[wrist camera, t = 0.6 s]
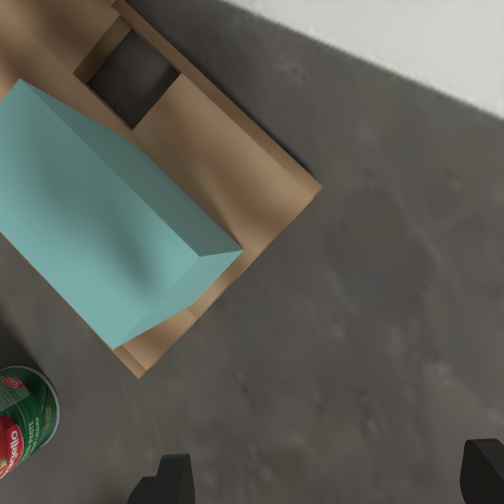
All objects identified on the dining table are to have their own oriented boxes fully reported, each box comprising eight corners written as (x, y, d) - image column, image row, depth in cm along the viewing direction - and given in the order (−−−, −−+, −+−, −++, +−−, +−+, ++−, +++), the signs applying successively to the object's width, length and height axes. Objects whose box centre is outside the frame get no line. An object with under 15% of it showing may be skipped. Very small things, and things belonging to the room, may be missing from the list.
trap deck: (36, -78, 32) (-14, -136, 27) (321, 190, 29) (325, 179, 24) (-103, 107, 34) (-171, 85, 29) (148, 370, 32) (119, 394, 27)
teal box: (136, 144, 29) (19, 78, 17) (244, 250, 28) (199, 256, 16) (88, 200, 30) (-56, 173, 18) (191, 305, 29) (112, 349, 17)
